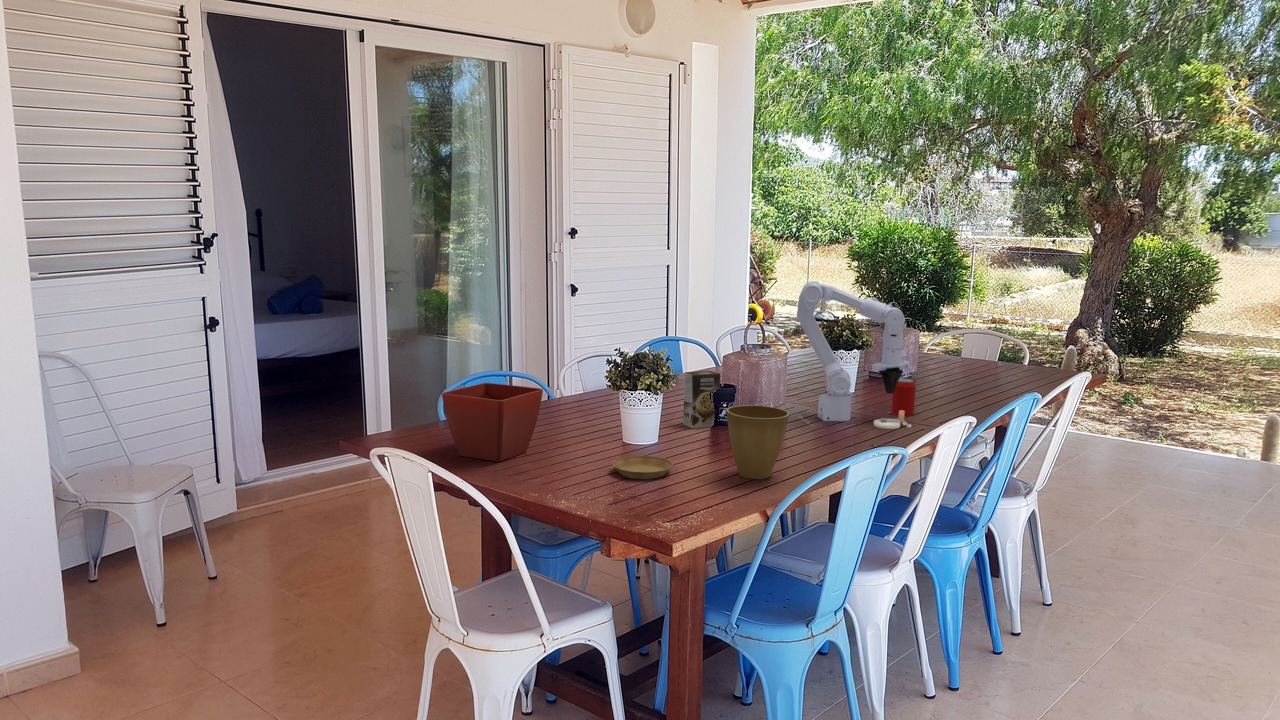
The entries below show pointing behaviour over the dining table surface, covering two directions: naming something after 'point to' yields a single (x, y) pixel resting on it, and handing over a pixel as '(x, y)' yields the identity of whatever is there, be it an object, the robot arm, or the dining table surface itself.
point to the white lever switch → (890, 422)
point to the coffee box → (700, 398)
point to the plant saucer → (642, 466)
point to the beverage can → (904, 397)
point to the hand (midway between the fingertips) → (889, 393)
